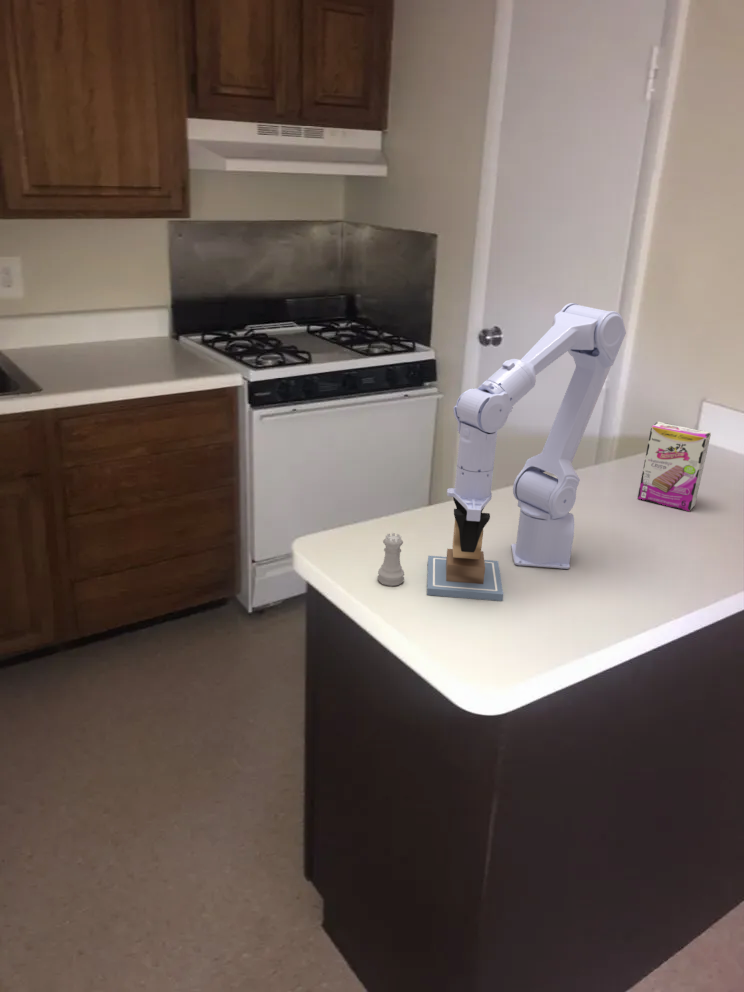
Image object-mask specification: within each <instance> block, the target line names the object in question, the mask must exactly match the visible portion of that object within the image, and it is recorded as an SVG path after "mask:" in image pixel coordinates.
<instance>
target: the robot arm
mask: <svg viewBox="0 0 744 992" xmlns="http://www.w3.org/2000/svg"><path fill="white" fill-rule="evenodd" d="M626 334H627V331H626V328H625V323H624V319H623V316H622V314H620V313H619V312H618V311H615V310H605V309H599V308H595V307H591V306H586V305H582V304H581V305H580V304H579V303H575V302H569V303H567V304H565V305H564V306H563V307H562V309H560V311H559V312H557V313H555V314H554V316H553V320H552V325H551V327H550V328H549V329H548V330H547V331H546V332H545V333H544V334H543V336H541V338H540V339H538V341H537V342H536V343H535V344H533V346H532V347H531V348H530V349H529V350H528V351H527V352H526V354H525V355H523V356H522V357H521V359H519V358H510V359H509V360H508V359H507V360H505V361H504V362H503V363H501V367H499V369H497V370H496V371H495V372H493V374H492V375H490V376H489V377H488V378H487V379H486V380H484V381H483V383H481V384H480V385H479V386H478V387H477V388H474V387H473V388H469V389H467V390H466V391H464V392H462V393H461V394H460V395H459V397H458V399H456V404H455V406H453V409H452V411H453V416H454V418H455V421H456V422H457V432H458V435H459V437H458V438H459V439H458V449H457V459H456V460H457V461H456V471H455V472H456V473H455V480H454V481H455V482H454V487H450V488H447V489H446V495H447V497H451V498H452V497H453V499H452V500H453V502H454V504H455V506H456V507H455V508H453V515H454V520H455V519H456V521H457V524H458V528H459V534H460V546H461V551H462V552H474V551H475V549H476V547H477V544H478V540H479V537H480V535H481V532H482V530H483V531H484V528H485V527H486V525H487V524H488V523H489V522H490V519H491V514H490V513H487V512H483V511H484V509H485V507H486V506H487V504H488V503H490V501H491V500H492V497H493V496H492V495H493V493H492V484H493V478H494V477H493V475H494V465H495V458H496V457H495V456H496V447H497V437H498V431H499V430H500V429H502V428H504V426H505V425H506V422H507V420H508V417H509V415H510V413H511V412H512V411H513V409H514V406H515V405H516V404H517V403H518V402H519V401H520V400H521V399H522V398H524V397H525V396H526V395H527V394H528V393H529V392H530V391H531V390H532V389H533V388H535V385H536V382H537V381H536V380H537V379H536V377H537V375H538V374H539V373H541V372H542V371H544V370H545V369H546V368H547V367H549V366H550V365H551V364H553V363H554V362H556V360H558V359H560V357H562V356H563V355H564V354H565V353H568V354H569V355H570V356H571V357H572V359H573V361H574V365H575V369H574V371H573V373H572V375H571V378H570V381H569V384H568V385H567V386H568V387H567V388H566V391H565V393H564V395H563V398H562V401H561V404H560V406H559V408H558V412H557V413H556V416H555V417H554V418H555V419H554V421H553V424H552V426H551V428H550V431H549V433H548V436H547V439H546V441H545V443H544V445H543V449H542V450H541V452H540V453H538V454H535V455H533V456H531V457H528V459H526V461H525V462H524V466H523V468H522V469H521V471H520V472H519V473H518V474H517V475H516V477H515V478H514V482H513V487H512V495H513V496H514V498H515V500H517V507H518V508H520V509H519V510H520V512H519V519H518V525H517V535H516V542H515V543H511V545H510V547H511V551H512V554H511V555H512V557H513V562H514V565H516V566H526V567H539V568H551V569H552V568H553V569H562V570H563V569H564V570H566V569H567V570H568V569H570V567H571V565H570V561H571V555H572V550H573V549H572V548H573V542H574V537H575V536H574V534H575V517H574V516H575V515H574V514H573V513H572V512H570V511H571V510H573V507H574V505H575V503H576V499H577V490H578V486H579V483H580V482H581V479H580V477H579V475H578V473H577V472H576V470H575V468H574V466H573V460H574V458H575V456H576V454H577V451H578V448H579V446H580V444H581V441H582V438H583V436H584V433H585V431H586V429H587V426H588V424H589V421H590V419H591V417H592V414H593V412H594V409H595V406H596V404H597V402H598V400H599V396H600V395H601V392H602V389H603V387H604V385H605V382H606V379H607V377H608V375H609V373H610V370H611V367H612V366H614V363H615V361H616V359H617V356H618V353H619V351H620V349H621V346H622V344H623V341H624V339H625V337H626ZM545 472H547V473H549V474H546V473H545ZM550 474H551V475H550ZM552 475H554V476H556V477H554V476H552Z"/></svg>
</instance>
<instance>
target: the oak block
mask: <svg viewBox="0 0 744 992" xmlns="http://www.w3.org/2000/svg"><path fill="white" fill-rule="evenodd" d="M483 536H484V529H483V530H482V532H481V535H480V537H479V540H478V544H477V547H476V549H475V551H474V552H462V551H461V546H460V534H459V528H458V524H457V521H456V519H455V518H454V525H453V535H452V537H453V538H452V549H453V557H455V558H468V559H480V557H481V551H482V547H483V546H482V545H483V539H484V537H483Z"/></svg>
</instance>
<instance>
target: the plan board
mask: <svg viewBox="0 0 744 992" xmlns="http://www.w3.org/2000/svg"><path fill="white" fill-rule="evenodd" d="M484 554H485V553H484V551H483V550H481V557H480V559H468V558H455V557H453V548H447V549H446V556H437V555H427V575H426V576H427V579H426V580H427V581H426V596H433V597H435V596H436V597H444V598H445V597H448V598H457V599H458V598H460V599H473V600H485V601H497V602H498V601H499V602H503V598H504V589H503V585H502V578H501V570H500V564H499V560H490V559H485V555H484Z"/></svg>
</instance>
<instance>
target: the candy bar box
mask: <svg viewBox="0 0 744 992" xmlns="http://www.w3.org/2000/svg"><path fill="white" fill-rule="evenodd" d="M711 435H712V432H710V431H706V430H700V429H695V428H691V427H690V428H689V427H686V426H681V425H676V424H671V423H666V422H663V421H662V422H661V421H656V422H655V423H653V424H652V426H651V427H650V431H649V437H648V441H647V446H646V447H647V448H646V452H645V453H646V454H645V457H644V463H643V468H642V473H641V478H640V484H639V488H638V494H637V500H641V499H642V500H641V501H645V500H646V502H649V501H650V502H649V503H653V502H654V503H653V504H657V503H658V505H661V504H662V506H665V505H666V507H670V508H674V509H677V508H678V509H677V510H681V509H682V511H685V510H686V512H691V511H692V509H693V508H694V507H695V506H696V503H697V499H698V493H699V488H700V485H701V480H702V475H703V470H704V468H705V461H706V458H707V457H706V456H707V453H708V449H709V444H710V440H711ZM690 510H691V511H690Z"/></svg>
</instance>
